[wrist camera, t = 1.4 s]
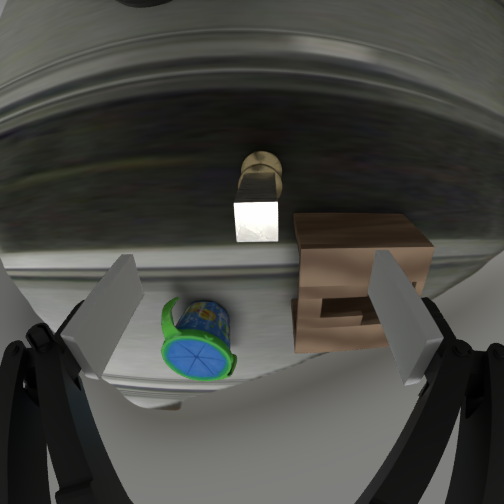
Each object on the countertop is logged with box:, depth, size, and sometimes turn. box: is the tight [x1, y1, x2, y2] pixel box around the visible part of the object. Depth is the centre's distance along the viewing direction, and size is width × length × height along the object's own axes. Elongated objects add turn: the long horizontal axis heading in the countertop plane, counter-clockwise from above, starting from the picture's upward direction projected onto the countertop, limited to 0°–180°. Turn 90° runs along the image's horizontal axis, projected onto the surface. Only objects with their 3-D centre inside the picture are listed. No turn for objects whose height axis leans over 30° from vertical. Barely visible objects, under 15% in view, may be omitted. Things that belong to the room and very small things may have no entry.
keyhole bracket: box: [291, 213, 435, 353], centre depth 37 cm, size 16×16×10 cm
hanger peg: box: [234, 150, 282, 242], centre depth 28 cm, size 5×5×17 cm
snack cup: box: [161, 297, 237, 381], centre depth 43 cm, size 16×10×10 cm
